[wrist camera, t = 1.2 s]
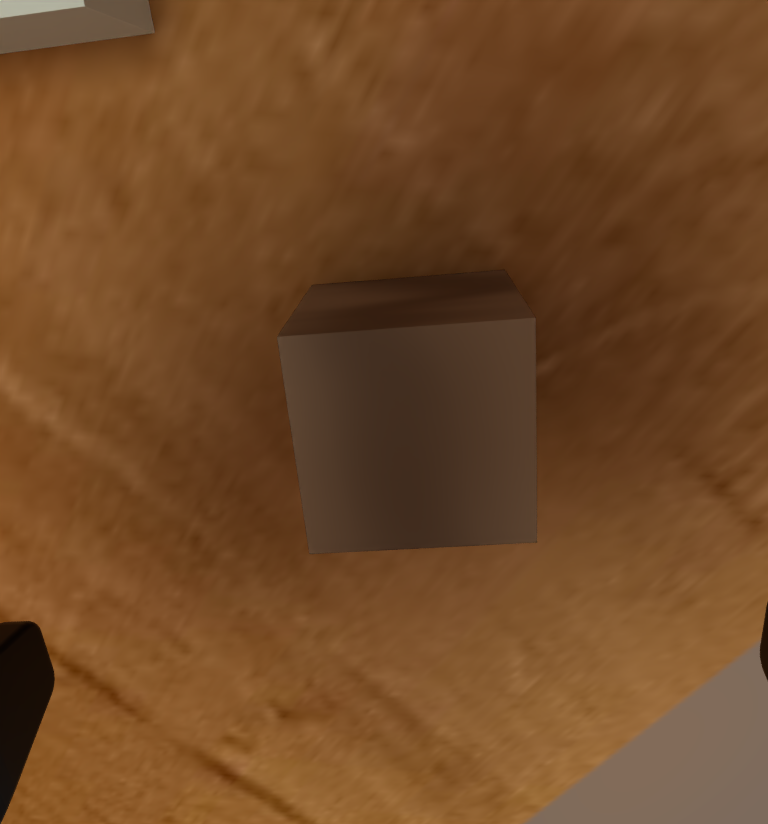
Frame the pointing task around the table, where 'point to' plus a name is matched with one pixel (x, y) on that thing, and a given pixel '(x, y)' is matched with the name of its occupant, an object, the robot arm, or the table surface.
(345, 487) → the walnut cube
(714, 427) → the table surface
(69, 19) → the base block
